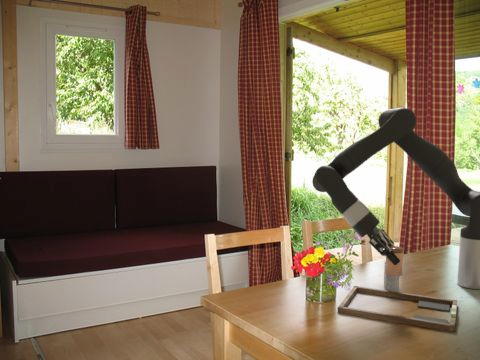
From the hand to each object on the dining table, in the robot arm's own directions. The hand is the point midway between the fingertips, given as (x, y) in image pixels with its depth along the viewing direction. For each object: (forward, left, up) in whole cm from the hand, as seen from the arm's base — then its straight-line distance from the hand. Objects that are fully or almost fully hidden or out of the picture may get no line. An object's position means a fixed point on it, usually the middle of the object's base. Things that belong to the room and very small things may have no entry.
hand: (398, 260), depth 154 cm
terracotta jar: (0, -1, -4) cm, 4 cm away
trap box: (0, +1, -15) cm, 15 cm away
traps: (0, +10, -15) cm, 18 cm away
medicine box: (-19, -4, -15) cm, 25 cm away
